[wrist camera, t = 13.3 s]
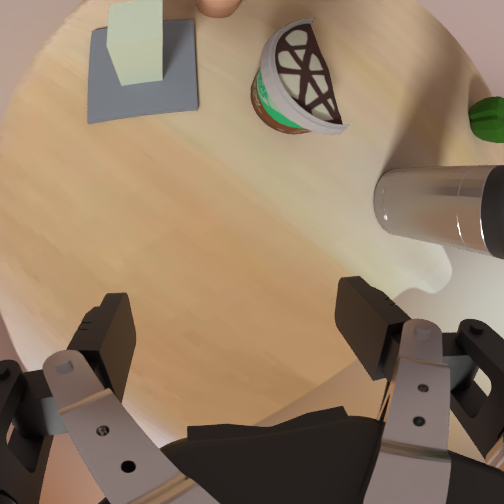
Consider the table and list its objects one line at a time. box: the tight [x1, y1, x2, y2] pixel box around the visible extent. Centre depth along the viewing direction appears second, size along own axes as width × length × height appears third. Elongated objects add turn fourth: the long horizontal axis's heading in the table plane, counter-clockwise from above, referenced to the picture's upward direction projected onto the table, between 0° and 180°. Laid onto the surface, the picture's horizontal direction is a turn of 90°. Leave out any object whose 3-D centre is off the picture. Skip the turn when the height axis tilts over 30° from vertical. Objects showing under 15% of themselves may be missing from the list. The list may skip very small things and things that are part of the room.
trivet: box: [88, 19, 198, 124], centre depth 28 cm, size 12×12×1 cm
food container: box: [251, 18, 349, 135], centre depth 28 cm, size 12×6×10 cm, turn 15°
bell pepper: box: [469, 97, 504, 143], centre depth 38 cm, size 8×8×10 cm
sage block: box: [107, 0, 163, 86], centre depth 23 cm, size 4×4×10 cm
